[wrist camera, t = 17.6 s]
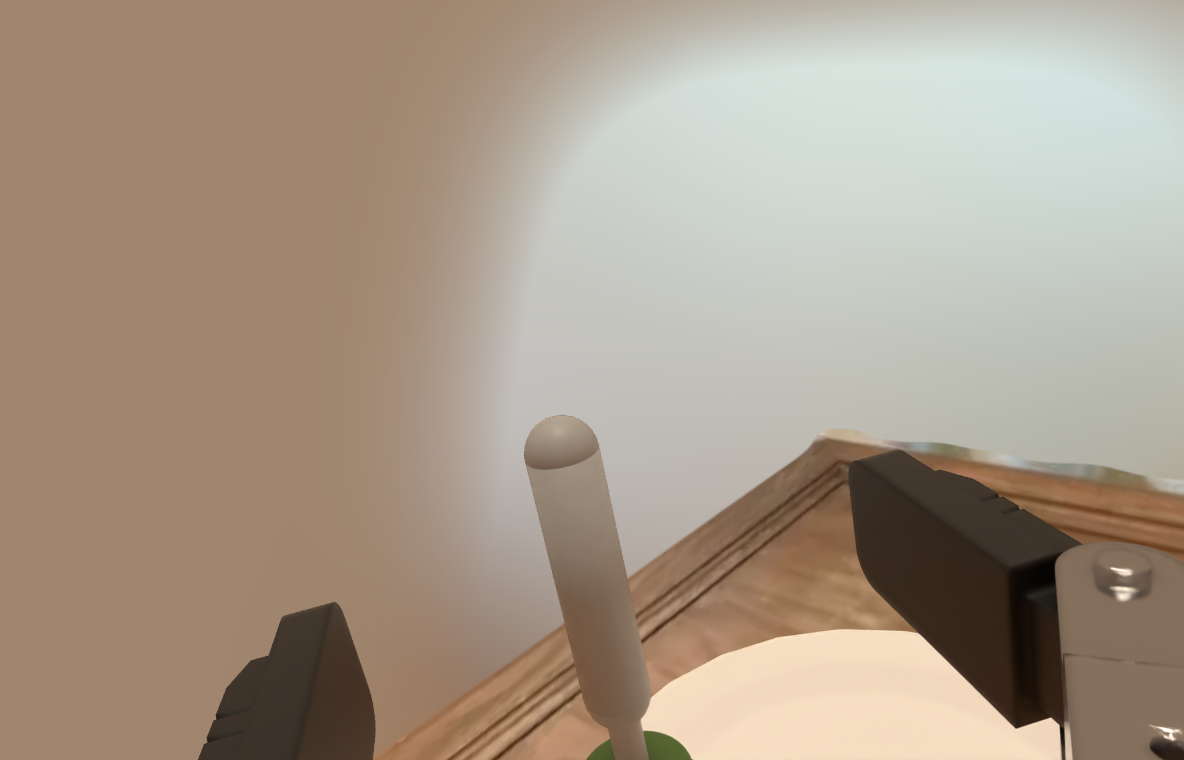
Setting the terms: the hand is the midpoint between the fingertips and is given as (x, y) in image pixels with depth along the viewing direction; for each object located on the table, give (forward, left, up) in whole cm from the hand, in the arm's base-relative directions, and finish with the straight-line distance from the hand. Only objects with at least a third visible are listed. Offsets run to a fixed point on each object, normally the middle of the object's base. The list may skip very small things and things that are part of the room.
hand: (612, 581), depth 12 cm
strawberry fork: (-3, +6, -16) cm, 18 cm away
